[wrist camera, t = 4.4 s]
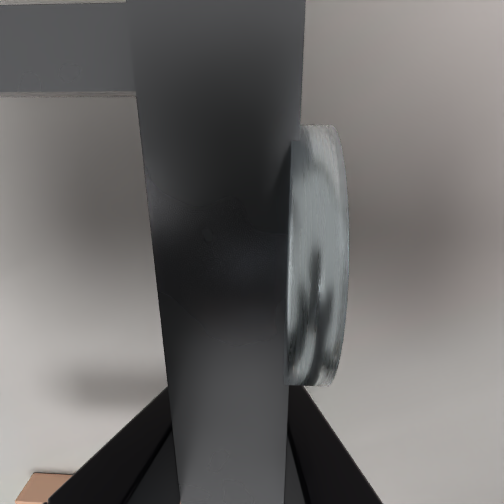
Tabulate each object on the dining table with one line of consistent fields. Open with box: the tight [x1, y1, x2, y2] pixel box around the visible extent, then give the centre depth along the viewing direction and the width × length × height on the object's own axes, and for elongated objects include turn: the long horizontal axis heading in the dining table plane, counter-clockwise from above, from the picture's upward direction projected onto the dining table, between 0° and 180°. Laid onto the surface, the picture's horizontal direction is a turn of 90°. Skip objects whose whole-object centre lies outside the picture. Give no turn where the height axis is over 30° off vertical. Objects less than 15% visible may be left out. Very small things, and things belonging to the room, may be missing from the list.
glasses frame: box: [0, 0, 349, 504], centre depth 7 cm, size 10×15×4 cm
